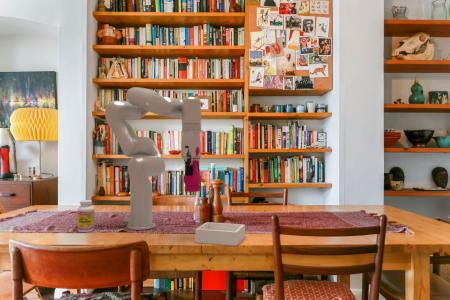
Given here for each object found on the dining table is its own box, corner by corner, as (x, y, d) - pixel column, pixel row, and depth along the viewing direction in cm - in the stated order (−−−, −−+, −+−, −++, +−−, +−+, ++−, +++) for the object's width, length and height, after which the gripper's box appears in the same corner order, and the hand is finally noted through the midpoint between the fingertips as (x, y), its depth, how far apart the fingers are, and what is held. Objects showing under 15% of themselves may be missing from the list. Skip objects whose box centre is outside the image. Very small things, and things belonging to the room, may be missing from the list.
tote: (195, 242, 136) (195, 229, 136) (206, 234, 148) (206, 222, 148) (236, 246, 131) (236, 232, 131) (244, 237, 144) (244, 224, 144)
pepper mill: (198, 192, 138) (197, 139, 138) (180, 192, 140) (180, 140, 140) (204, 190, 145) (203, 140, 145) (186, 189, 147) (185, 140, 147)
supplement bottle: (76, 233, 150) (75, 202, 149) (79, 229, 156) (79, 199, 156) (93, 232, 151) (93, 201, 151) (95, 228, 157) (95, 199, 157)
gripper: (191, 130, 152) (191, 173, 152) (173, 128, 135) (174, 176, 135) (208, 129, 149) (208, 173, 149) (192, 127, 133) (192, 176, 133)
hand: (192, 174), depth 142 cm, fingers closed on pepper mill, 5 cm apart
